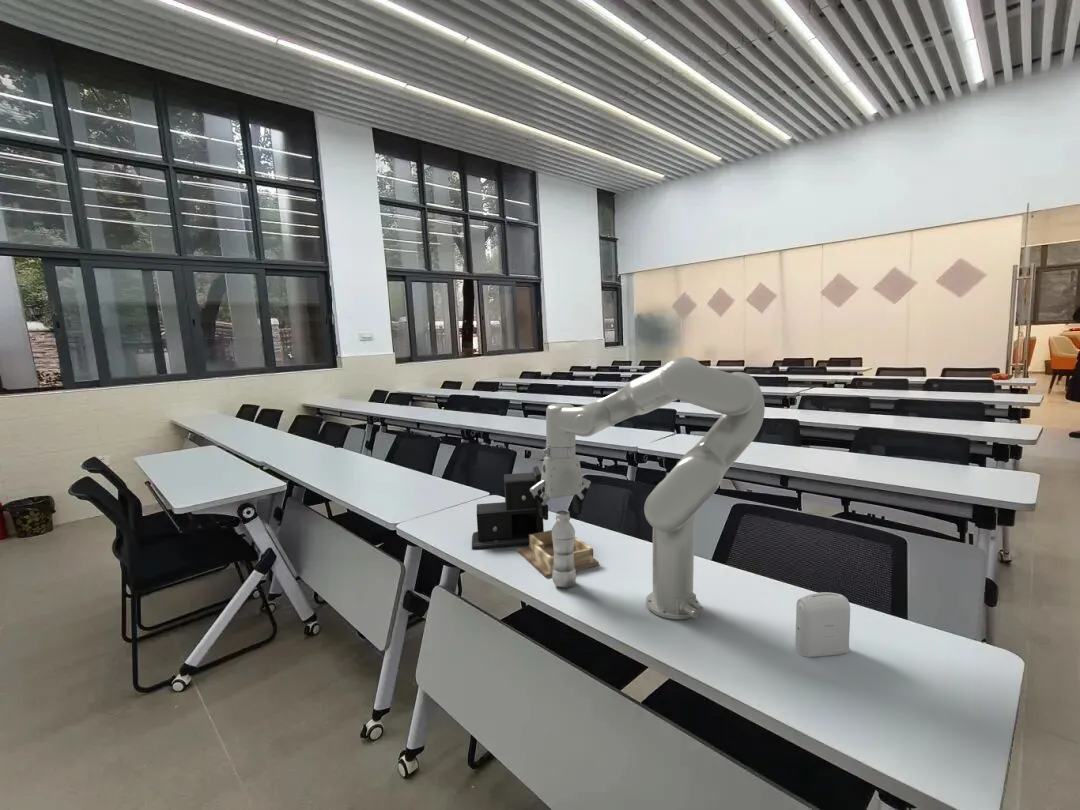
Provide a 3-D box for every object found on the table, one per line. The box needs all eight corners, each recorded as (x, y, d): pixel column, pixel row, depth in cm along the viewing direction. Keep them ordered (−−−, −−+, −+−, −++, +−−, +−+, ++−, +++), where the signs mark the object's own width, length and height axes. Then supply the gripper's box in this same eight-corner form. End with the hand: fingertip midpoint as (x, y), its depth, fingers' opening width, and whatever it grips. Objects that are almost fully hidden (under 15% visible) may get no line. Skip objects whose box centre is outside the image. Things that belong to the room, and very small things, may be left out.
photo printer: (804, 659, 101) (806, 601, 99) (791, 647, 105) (793, 590, 103) (852, 655, 102) (855, 597, 100) (837, 642, 106) (840, 587, 104)
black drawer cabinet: (471, 550, 159) (468, 477, 156) (472, 537, 169) (469, 469, 167) (544, 545, 161) (542, 473, 158) (540, 532, 172) (539, 465, 169)
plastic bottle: (575, 578, 138) (573, 507, 135) (577, 590, 131) (576, 516, 129) (551, 579, 137) (549, 508, 135) (553, 591, 131) (551, 517, 128)
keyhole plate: (598, 564, 146) (598, 548, 145) (546, 577, 139) (545, 560, 138) (565, 541, 164) (565, 526, 163) (517, 551, 156) (517, 536, 156)
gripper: (536, 458, 123) (537, 525, 125) (597, 451, 130) (596, 514, 132) (524, 452, 130) (525, 516, 132) (582, 445, 137) (582, 506, 139)
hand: (560, 515), depth 132 cm, fingers open, 9 cm apart
